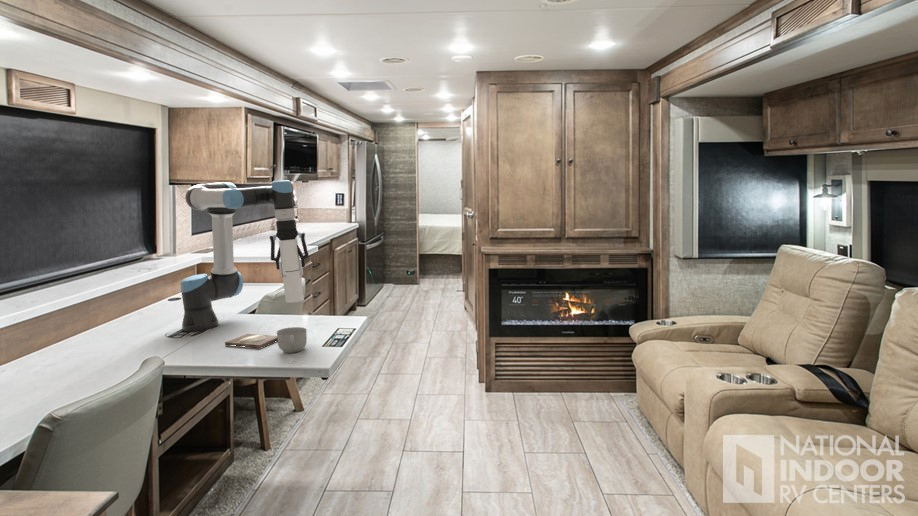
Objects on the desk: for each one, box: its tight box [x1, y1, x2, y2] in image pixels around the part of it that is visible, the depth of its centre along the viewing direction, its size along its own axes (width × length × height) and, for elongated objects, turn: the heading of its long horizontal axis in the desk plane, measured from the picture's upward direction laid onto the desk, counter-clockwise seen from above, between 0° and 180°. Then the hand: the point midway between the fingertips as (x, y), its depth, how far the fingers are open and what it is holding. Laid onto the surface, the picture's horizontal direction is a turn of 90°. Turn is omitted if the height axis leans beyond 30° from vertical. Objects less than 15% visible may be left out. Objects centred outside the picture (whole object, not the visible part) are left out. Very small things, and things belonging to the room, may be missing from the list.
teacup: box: [276, 326, 308, 353], centre depth 226 cm, size 14×11×8 cm
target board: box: [224, 333, 278, 349], centre depth 242 cm, size 18×12×2 cm, turn 65°
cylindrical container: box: [278, 237, 305, 304], centre depth 243 cm, size 7×7×25 cm
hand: (292, 276), depth 244 cm, fingers closed on cylindrical container, 7 cm apart
